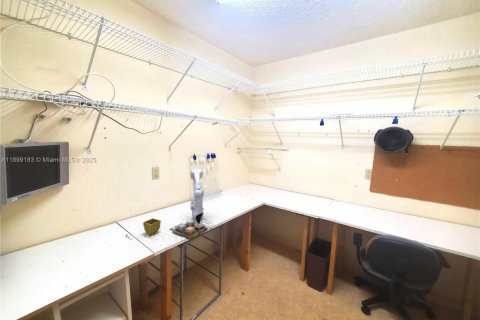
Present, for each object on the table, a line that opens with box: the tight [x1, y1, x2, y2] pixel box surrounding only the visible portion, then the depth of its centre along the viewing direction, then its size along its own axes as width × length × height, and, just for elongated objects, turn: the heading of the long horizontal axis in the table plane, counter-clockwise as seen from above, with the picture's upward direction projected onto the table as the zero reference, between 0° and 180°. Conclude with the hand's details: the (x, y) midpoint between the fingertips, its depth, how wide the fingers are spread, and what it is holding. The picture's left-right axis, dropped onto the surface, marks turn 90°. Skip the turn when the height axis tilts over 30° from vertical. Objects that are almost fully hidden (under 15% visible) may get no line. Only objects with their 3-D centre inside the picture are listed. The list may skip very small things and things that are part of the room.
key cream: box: [194, 222, 204, 228], centre depth 149 cm, size 4×4×2 cm
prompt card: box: [169, 222, 183, 231], centre depth 154 cm, size 12×4×1 cm, turn 151°
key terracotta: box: [186, 226, 195, 233], centre depth 141 cm, size 4×4×2 cm
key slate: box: [177, 223, 186, 230], centre depth 145 cm, size 4×4×2 cm
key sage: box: [185, 219, 195, 226], centre depth 153 cm, size 4×4×2 cm
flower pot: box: [142, 218, 162, 236], centre depth 143 cm, size 9×9×9 cm
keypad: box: [171, 223, 208, 241], centre depth 147 cm, size 18×18×4 cm
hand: (198, 222), depth 149 cm, fingers closed
